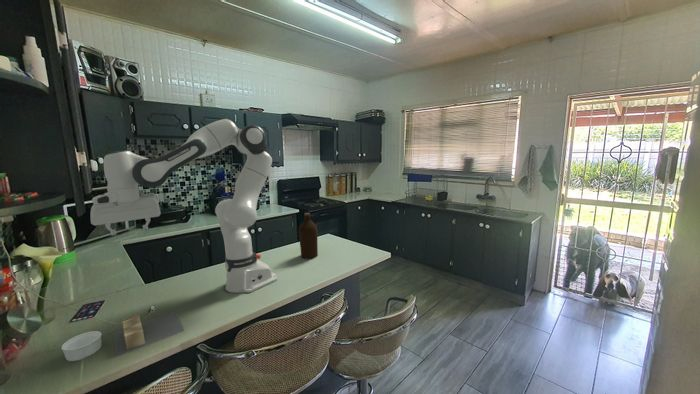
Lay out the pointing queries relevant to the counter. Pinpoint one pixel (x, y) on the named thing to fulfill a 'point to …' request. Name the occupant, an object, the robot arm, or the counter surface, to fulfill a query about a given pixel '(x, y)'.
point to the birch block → (133, 332)
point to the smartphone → (87, 311)
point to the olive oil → (308, 238)
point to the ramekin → (82, 346)
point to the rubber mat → (150, 332)
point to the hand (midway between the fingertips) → (130, 232)
